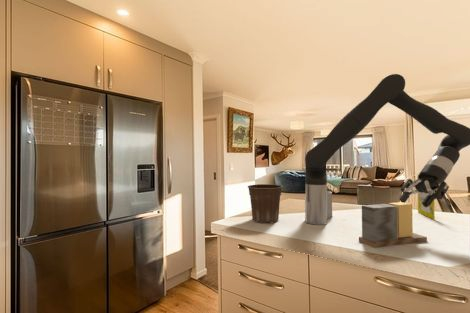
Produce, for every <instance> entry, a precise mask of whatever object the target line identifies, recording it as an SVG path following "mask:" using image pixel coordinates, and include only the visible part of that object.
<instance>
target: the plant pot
mask: <svg viewBox="0 0 470 313" xmlns="http://www.w3.org/2000/svg"><path fill="white" fill-rule="evenodd" d="M247 188H248V194H249V199H250V206H251V219H252V221H253V222H255V223H258V224H267V223H270V224H273V223H277V222H278V221H279V215H280V202H281V196H282V188H283V185H280V184H268V183H267V184H265V183H264V184H252V185H251V184H250V185H248V186H247Z"/></svg>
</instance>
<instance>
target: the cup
mask: <svg viewBox="0 0 470 313" xmlns="http://www.w3.org/2000/svg"><path fill="white" fill-rule="evenodd" d="M330 218H333V192H332V191H330V190H327V219H330Z"/></svg>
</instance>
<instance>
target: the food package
mask: <svg viewBox="0 0 470 313" xmlns="http://www.w3.org/2000/svg"><path fill="white" fill-rule="evenodd" d="M418 177H419V174H417V179H418ZM417 179H416V180H417ZM427 195H429V194H428V193H424V192H422V193H421V192H418V193H417V214H420V215H422V216H425V217H428V218H430V219H432V220H435V200H433V202H432V203H431V205H430V206H428V207H424V206H423V205H422V202H423V200H424V199H425V198H426V196H427Z"/></svg>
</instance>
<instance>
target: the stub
mask: <svg viewBox="0 0 470 313" xmlns="http://www.w3.org/2000/svg"><path fill="white" fill-rule="evenodd" d="M388 205H393V206H398V237H399V238H400V237H409V236H413V233H414V232H413V226H414V225H413V203H408V202H405V203H403V202H401V201H398V202H388Z"/></svg>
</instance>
